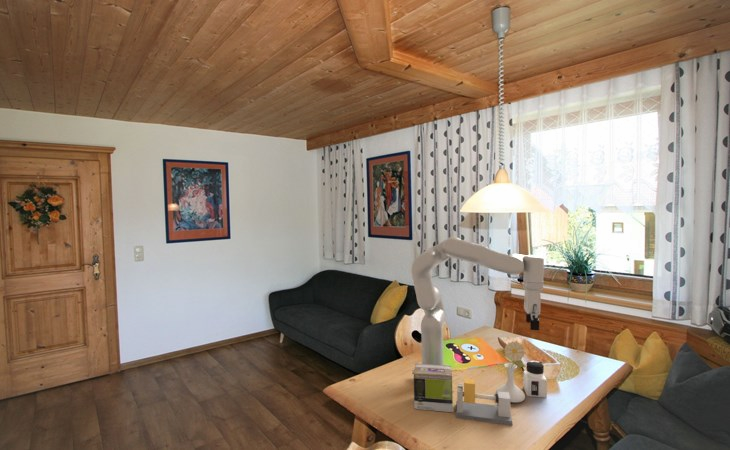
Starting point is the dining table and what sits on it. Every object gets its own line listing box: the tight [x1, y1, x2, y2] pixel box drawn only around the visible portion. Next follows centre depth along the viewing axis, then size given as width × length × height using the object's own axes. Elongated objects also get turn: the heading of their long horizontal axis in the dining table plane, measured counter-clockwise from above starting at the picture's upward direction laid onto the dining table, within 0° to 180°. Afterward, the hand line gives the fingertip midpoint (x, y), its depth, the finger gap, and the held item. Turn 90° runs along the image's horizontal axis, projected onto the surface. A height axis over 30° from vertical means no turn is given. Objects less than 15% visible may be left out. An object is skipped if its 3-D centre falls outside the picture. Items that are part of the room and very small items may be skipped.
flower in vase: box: [495, 340, 526, 403], centre depth 154 cm, size 13×11×25 cm
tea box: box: [413, 363, 454, 413], centre depth 150 cm, size 15×10×15 cm, turn 78°
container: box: [522, 360, 548, 399], centre depth 159 cm, size 8×8×13 cm
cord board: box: [455, 382, 513, 426], centre depth 143 cm, size 20×10×10 cm, turn 75°
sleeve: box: [463, 377, 476, 404], centre depth 144 cm, size 4×4×8 cm
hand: (532, 326), depth 156 cm, fingers open, 9 cm apart
